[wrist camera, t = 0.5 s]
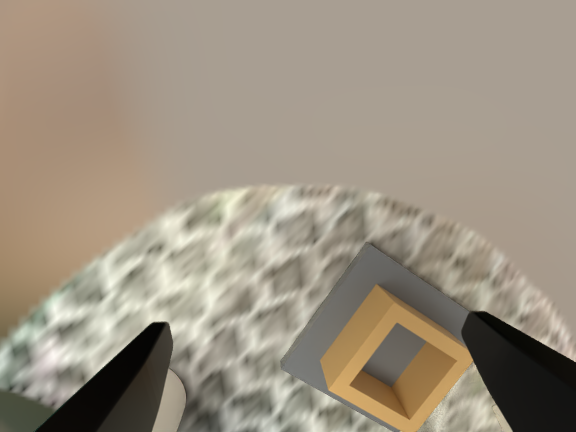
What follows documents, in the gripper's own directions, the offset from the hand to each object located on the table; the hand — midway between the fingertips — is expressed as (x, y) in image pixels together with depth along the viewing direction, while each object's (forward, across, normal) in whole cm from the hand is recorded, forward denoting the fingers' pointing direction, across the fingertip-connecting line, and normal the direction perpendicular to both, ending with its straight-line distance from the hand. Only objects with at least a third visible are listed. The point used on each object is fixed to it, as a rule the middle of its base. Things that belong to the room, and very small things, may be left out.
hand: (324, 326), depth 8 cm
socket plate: (+12, -9, +15) cm, 22 cm away
